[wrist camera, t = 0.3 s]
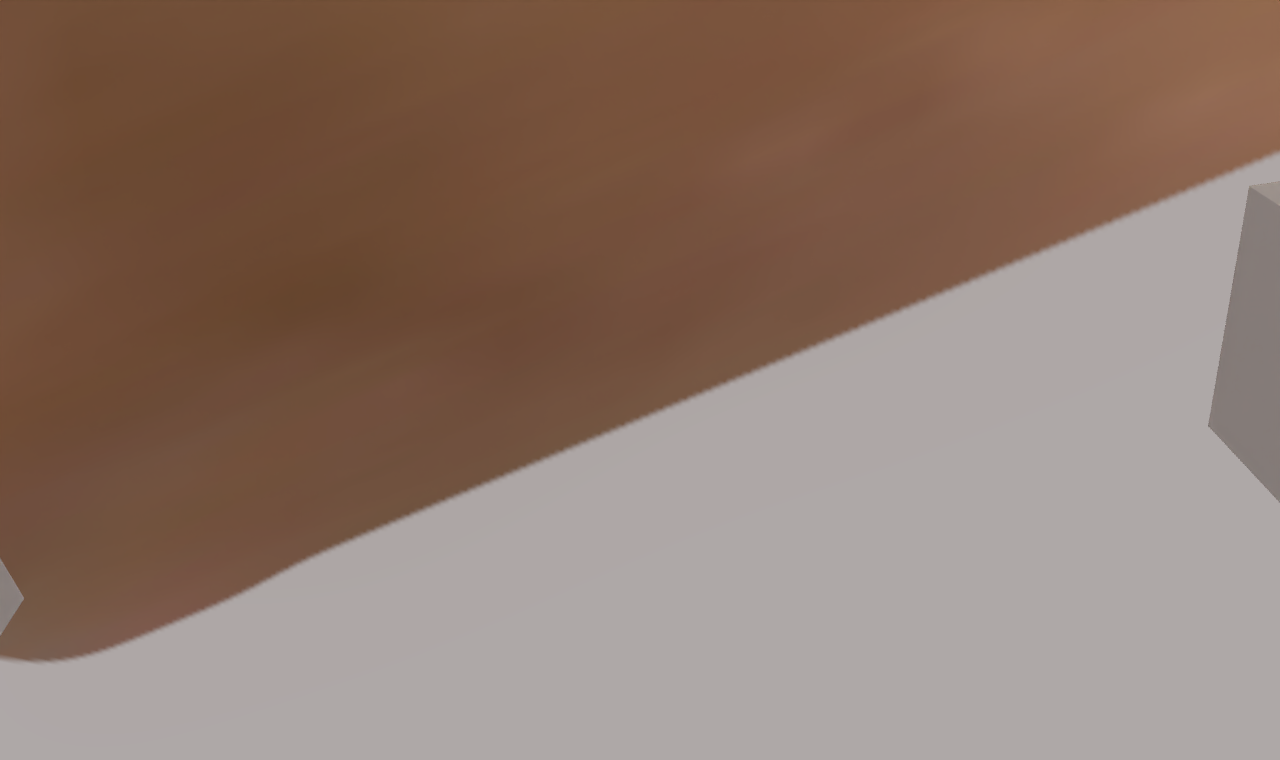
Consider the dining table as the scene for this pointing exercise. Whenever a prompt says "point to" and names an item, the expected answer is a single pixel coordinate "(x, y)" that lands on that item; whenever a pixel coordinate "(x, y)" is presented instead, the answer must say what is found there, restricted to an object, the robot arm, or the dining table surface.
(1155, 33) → the dining table surface
